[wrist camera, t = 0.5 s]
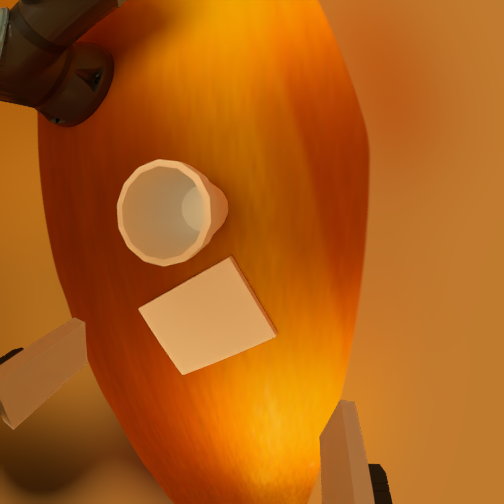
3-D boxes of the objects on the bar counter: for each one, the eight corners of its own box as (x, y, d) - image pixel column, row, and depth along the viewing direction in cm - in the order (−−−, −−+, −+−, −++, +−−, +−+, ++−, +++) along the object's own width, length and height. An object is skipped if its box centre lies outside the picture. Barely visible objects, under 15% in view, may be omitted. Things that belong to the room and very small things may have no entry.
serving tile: (142, 305, 41) (138, 308, 40) (231, 255, 38) (229, 257, 36) (185, 370, 42) (182, 375, 41) (277, 331, 39) (276, 336, 37)
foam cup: (253, 224, 37) (230, 237, 24) (192, 256, 39) (145, 282, 26) (218, 158, 36) (180, 139, 23) (160, 193, 38) (103, 193, 25)
